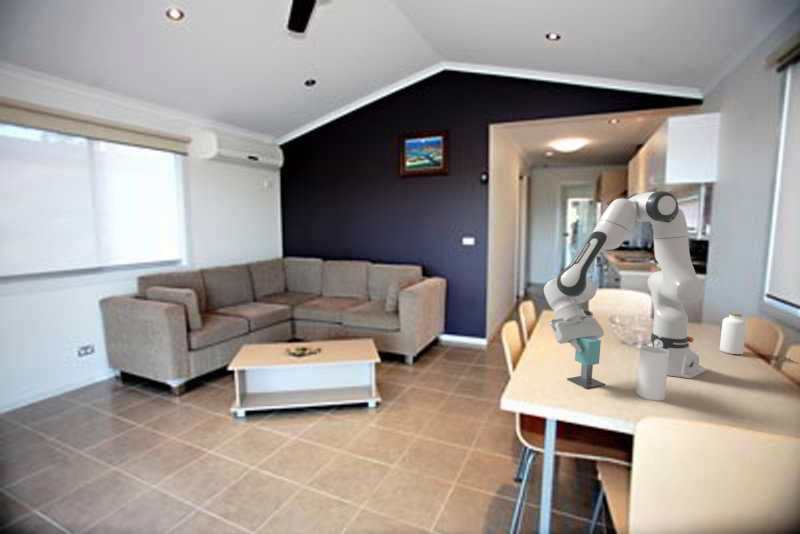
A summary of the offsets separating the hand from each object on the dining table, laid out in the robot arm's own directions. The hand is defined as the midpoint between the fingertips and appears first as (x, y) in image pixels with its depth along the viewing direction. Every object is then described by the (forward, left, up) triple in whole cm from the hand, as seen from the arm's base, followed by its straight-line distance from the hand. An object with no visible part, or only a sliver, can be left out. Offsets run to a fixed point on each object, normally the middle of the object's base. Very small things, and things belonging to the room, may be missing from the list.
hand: (589, 350), depth 146 cm
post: (0, -1, -12) cm, 12 cm away
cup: (-12, +15, -12) cm, 23 cm away
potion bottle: (-89, -3, -12) cm, 90 cm away
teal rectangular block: (0, -1, -4) cm, 4 cm away
